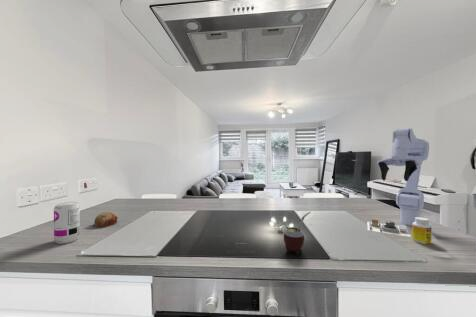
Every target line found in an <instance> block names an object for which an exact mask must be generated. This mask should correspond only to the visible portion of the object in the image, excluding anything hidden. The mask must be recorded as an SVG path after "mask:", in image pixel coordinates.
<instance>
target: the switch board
mask: <svg viewBox="0 0 476 317" xmlns="http://www.w3.org/2000/svg"><path fill="white" fill-rule="evenodd" d="M366 223H367V231H369V232H377V233H383V234H389V235H396V236H402V237H409V238H412V234H410V232H409V231H408V229H407V232H404V231H400V229H399V225H395V228H389V227H386V223H381V222H378V227H377V226H372V221H367V222H366Z"/></svg>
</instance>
